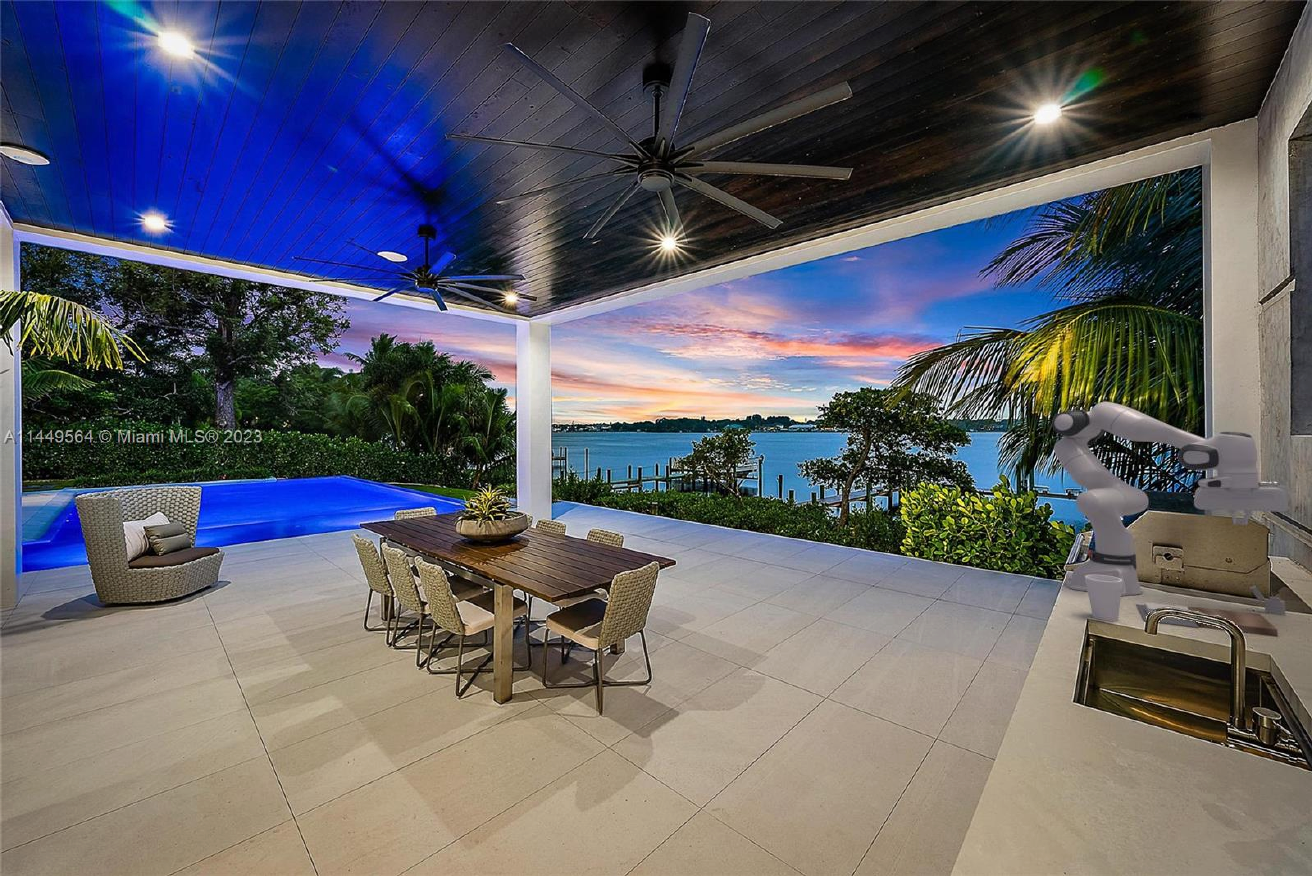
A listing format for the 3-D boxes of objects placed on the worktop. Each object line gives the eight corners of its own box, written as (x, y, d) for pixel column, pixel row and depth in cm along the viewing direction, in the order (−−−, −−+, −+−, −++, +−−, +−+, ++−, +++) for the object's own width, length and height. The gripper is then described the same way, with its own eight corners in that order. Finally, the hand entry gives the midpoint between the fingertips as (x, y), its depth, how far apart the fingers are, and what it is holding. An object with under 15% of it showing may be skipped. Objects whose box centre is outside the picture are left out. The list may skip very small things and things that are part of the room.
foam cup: (1113, 624, 165) (1111, 583, 165) (1080, 616, 173) (1078, 577, 173) (1131, 619, 168) (1128, 579, 168) (1097, 611, 177) (1095, 573, 177)
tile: (1148, 616, 169) (1148, 608, 169) (1145, 609, 174) (1144, 602, 174) (1192, 621, 163) (1191, 613, 163) (1187, 614, 168) (1186, 606, 169)
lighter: (1285, 614, 165) (1283, 589, 166) (1285, 615, 164) (1283, 590, 164) (1251, 609, 171) (1250, 585, 171) (1251, 610, 170) (1249, 586, 170)
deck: (1198, 626, 159) (1198, 620, 159) (1188, 612, 171) (1187, 606, 171) (1277, 636, 150) (1277, 629, 150) (1260, 620, 162) (1260, 614, 162)
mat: (1144, 621, 166) (1144, 620, 166) (1136, 605, 180) (1136, 604, 180) (1198, 628, 158) (1198, 626, 158) (1185, 610, 173) (1185, 609, 173)
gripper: (1283, 481, 164) (1285, 524, 164) (1191, 480, 176) (1193, 521, 176) (1290, 482, 159) (1293, 527, 159) (1195, 482, 171) (1198, 524, 171)
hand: (1240, 524), depth 167 cm, fingers closed
